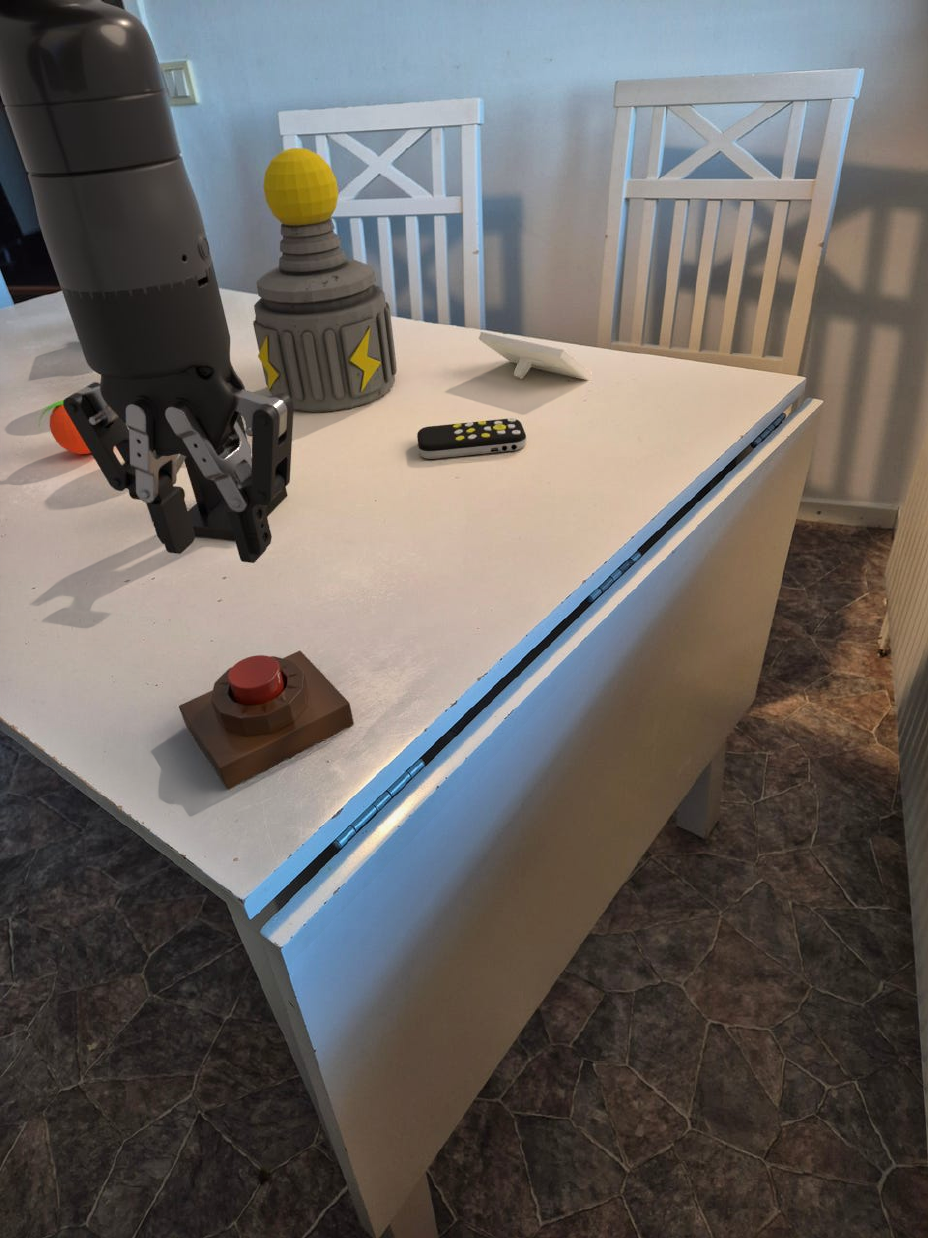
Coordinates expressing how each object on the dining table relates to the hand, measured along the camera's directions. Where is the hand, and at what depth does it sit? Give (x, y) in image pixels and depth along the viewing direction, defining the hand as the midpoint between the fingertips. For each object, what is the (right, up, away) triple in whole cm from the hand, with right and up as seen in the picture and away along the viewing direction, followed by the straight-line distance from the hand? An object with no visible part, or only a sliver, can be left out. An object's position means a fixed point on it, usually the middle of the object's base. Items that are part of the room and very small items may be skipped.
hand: (218, 550), depth 51 cm
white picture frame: (+26, +30, +63) cm, 74 cm away
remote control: (+16, +16, +46) cm, 52 cm away
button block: (+1, -12, +9) cm, 15 cm away
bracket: (-9, +7, +36) cm, 38 cm away
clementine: (-33, +17, +52) cm, 64 cm away
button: (+1, -9, +7) cm, 12 cm away
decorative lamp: (-3, +28, +65) cm, 71 cm away
